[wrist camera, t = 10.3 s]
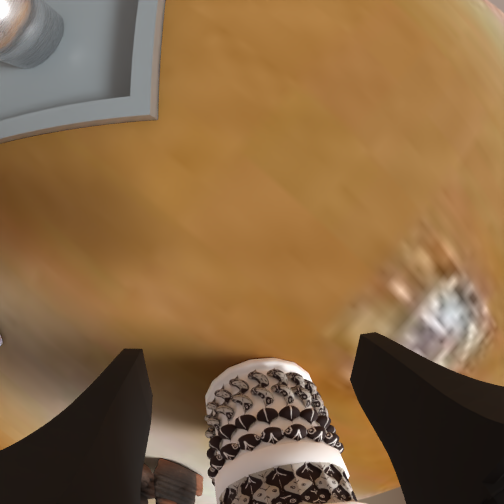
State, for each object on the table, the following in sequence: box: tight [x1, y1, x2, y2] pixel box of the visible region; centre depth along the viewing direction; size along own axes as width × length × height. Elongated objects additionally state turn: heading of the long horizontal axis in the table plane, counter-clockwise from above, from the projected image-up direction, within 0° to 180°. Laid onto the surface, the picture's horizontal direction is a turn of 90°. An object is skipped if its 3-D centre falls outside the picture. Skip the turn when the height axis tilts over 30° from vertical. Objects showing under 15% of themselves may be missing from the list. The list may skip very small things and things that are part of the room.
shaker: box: [0, 0, 64, 69], centre depth 8 cm, size 4×4×8 cm
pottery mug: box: [140, 458, 203, 504], centre depth 22 cm, size 12×10×8 cm
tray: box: [0, 0, 166, 143], centre depth 11 cm, size 16×13×2 cm
